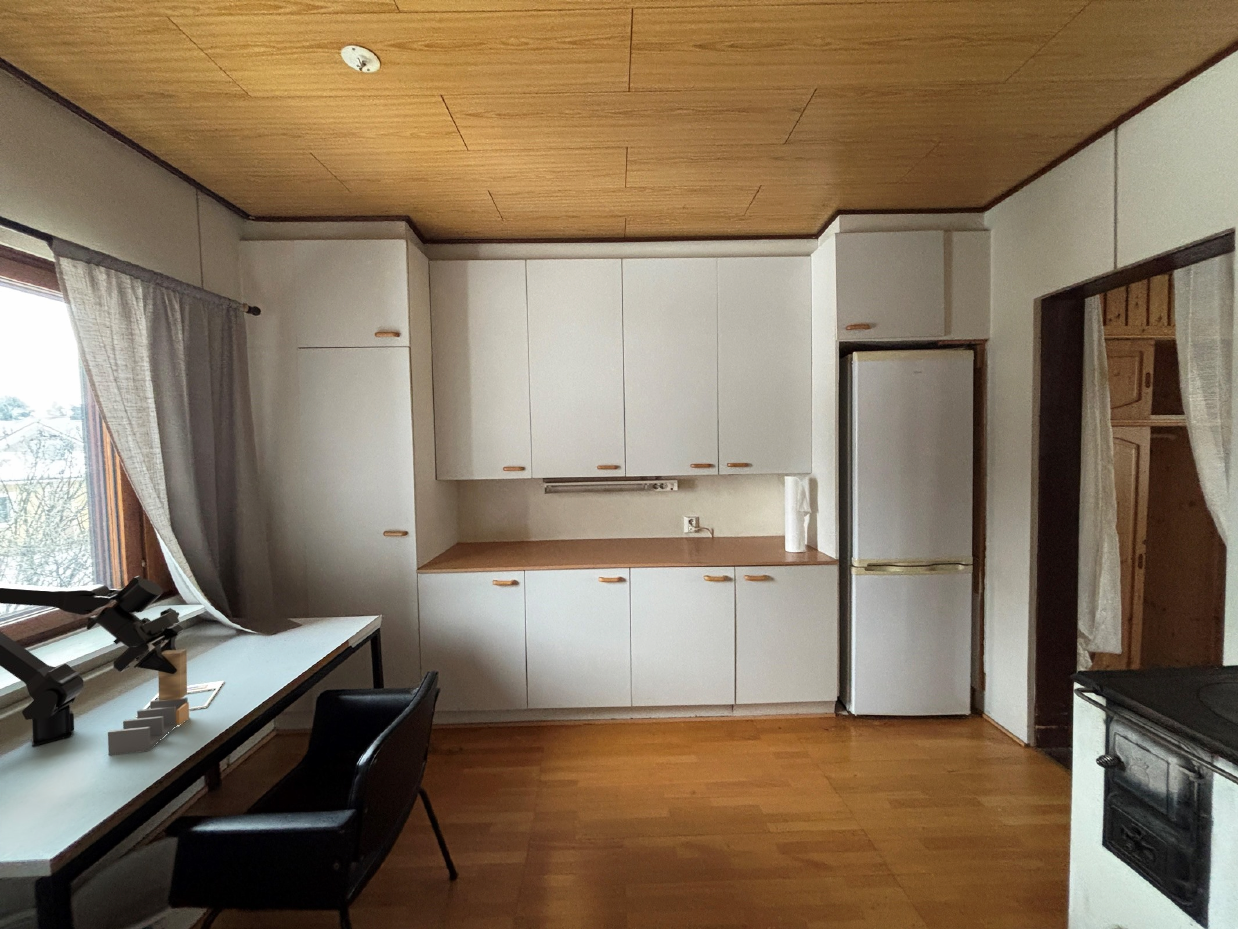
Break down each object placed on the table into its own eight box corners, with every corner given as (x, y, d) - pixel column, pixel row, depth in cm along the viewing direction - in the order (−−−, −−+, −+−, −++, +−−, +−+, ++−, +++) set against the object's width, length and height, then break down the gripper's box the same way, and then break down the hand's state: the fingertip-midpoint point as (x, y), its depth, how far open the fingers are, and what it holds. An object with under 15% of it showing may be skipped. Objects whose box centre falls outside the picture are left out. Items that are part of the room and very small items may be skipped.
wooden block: (158, 700, 137) (158, 654, 137) (165, 695, 140) (165, 650, 140) (180, 699, 138) (179, 653, 138) (186, 694, 141) (186, 649, 141)
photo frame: (224, 680, 165) (206, 705, 148) (224, 683, 165) (206, 709, 148) (161, 688, 159) (135, 716, 143) (161, 692, 160) (135, 720, 143)
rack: (108, 755, 125) (107, 732, 125) (152, 720, 142) (152, 700, 141) (152, 750, 127) (151, 728, 127) (190, 717, 143) (190, 697, 143)
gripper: (128, 612, 129) (185, 658, 131) (174, 592, 147) (223, 633, 150) (87, 649, 128) (145, 695, 130) (139, 624, 146) (189, 665, 148)
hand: (179, 669), depth 140 cm, fingers closed on wooden block, 3 cm apart
